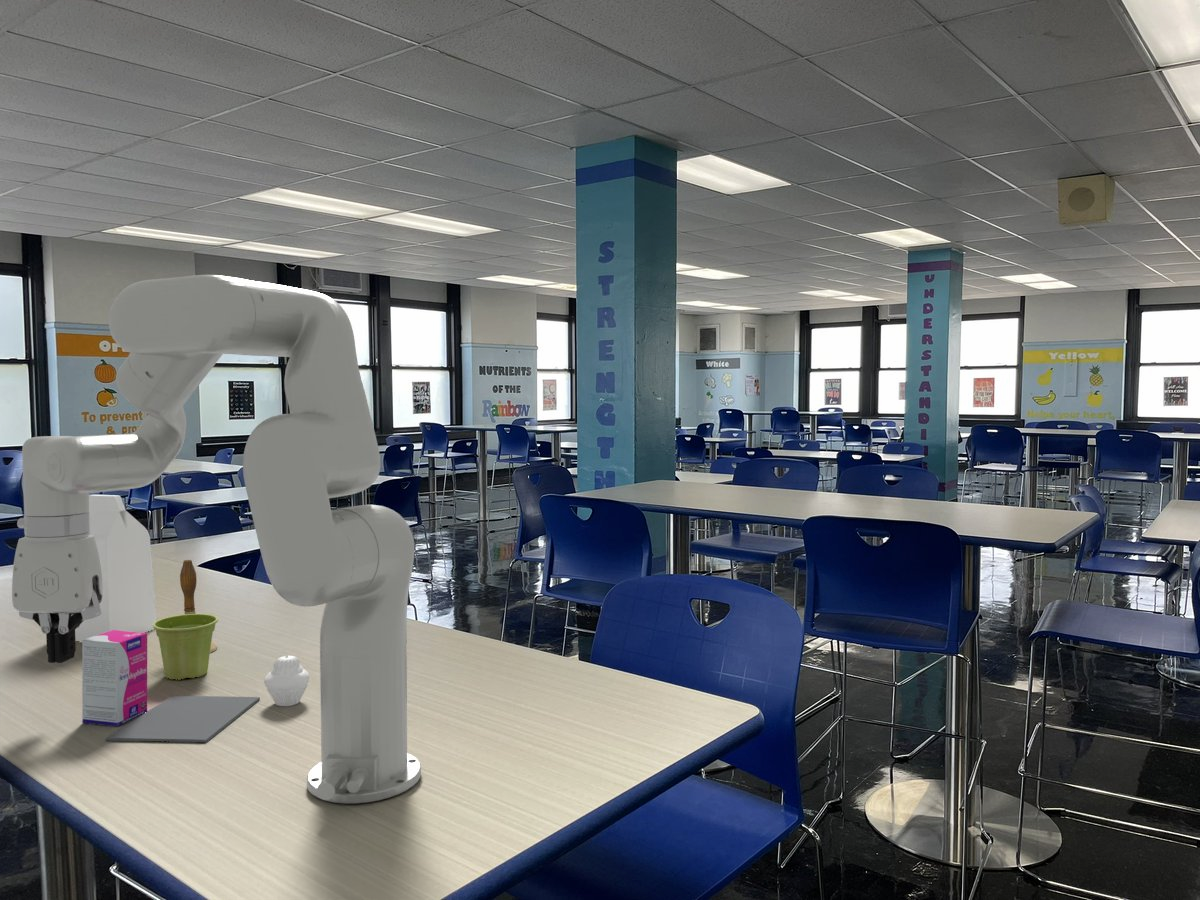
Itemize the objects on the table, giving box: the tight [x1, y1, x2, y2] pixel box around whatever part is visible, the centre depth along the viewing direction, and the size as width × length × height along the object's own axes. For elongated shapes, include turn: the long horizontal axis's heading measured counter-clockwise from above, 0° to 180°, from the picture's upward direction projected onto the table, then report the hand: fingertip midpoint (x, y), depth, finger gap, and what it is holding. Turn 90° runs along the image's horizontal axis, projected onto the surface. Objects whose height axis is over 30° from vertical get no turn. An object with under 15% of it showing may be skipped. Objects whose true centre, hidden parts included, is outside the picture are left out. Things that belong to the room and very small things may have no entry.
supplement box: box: [81, 630, 148, 727], centre depth 118 cm, size 6×6×12 cm
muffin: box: [263, 654, 310, 707], centre depth 125 cm, size 6×6×7 cm
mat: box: [105, 695, 261, 744], centre depth 118 cm, size 16×13×1 cm
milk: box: [75, 494, 158, 643], centre depth 161 cm, size 12×12×26 cm
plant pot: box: [153, 613, 219, 681], centre depth 137 cm, size 9×9×9 cm
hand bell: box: [179, 559, 218, 654], centre depth 150 cm, size 8×8×16 cm
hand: (61, 659), depth 118 cm, fingers closed
